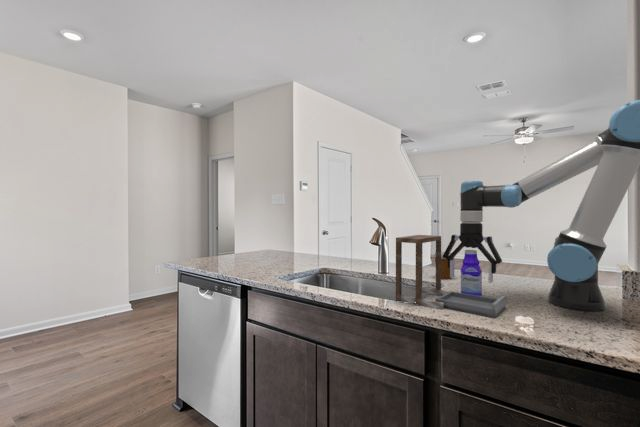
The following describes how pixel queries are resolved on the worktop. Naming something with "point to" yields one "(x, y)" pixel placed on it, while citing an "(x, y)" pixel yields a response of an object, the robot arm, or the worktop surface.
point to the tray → (473, 304)
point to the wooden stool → (419, 271)
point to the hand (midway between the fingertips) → (470, 279)
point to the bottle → (471, 274)
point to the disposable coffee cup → (444, 267)
